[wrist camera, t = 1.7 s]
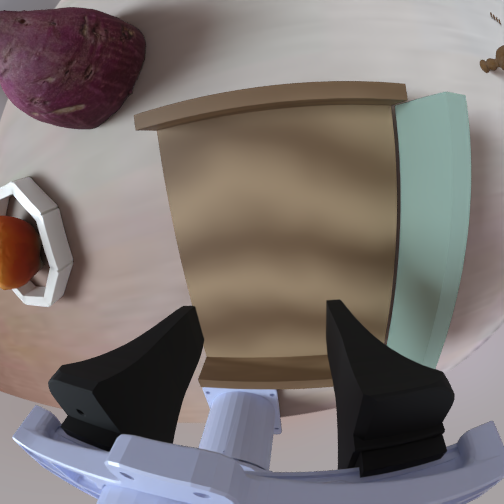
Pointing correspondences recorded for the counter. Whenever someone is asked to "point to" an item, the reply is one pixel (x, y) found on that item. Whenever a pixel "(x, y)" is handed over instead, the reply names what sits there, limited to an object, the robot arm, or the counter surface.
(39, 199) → the fruit dish
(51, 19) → the vegetable
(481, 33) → the counter surface
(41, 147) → the counter surface
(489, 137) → the counter surface
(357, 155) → the tan lipped tray
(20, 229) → the fruit
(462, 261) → the panel
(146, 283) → the counter surface
